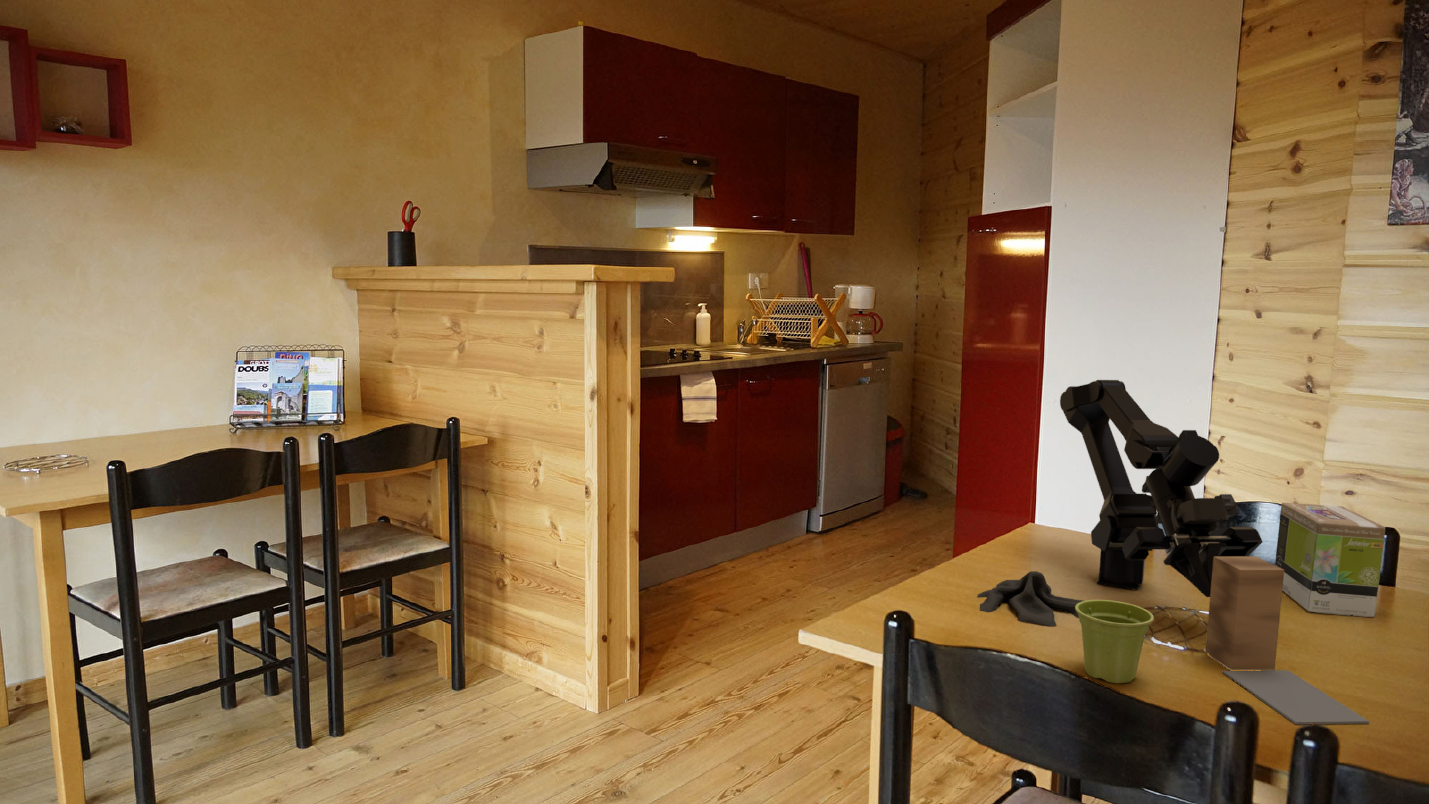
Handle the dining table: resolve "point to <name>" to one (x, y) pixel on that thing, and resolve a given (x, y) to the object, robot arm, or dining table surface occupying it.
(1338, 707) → the rubber mat
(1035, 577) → the cloth
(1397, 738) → the dining table surface
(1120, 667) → the plant pot
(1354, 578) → the tea box
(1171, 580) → the dining table surface
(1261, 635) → the walnut block
